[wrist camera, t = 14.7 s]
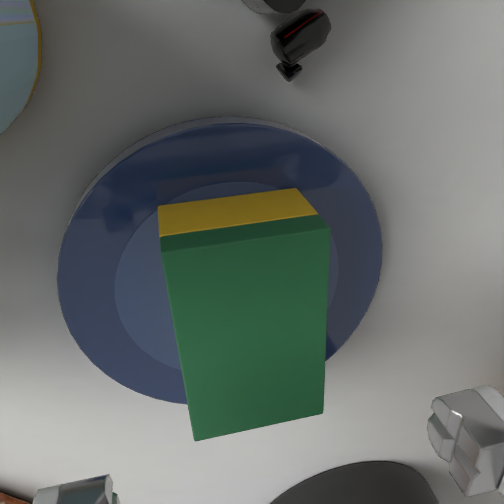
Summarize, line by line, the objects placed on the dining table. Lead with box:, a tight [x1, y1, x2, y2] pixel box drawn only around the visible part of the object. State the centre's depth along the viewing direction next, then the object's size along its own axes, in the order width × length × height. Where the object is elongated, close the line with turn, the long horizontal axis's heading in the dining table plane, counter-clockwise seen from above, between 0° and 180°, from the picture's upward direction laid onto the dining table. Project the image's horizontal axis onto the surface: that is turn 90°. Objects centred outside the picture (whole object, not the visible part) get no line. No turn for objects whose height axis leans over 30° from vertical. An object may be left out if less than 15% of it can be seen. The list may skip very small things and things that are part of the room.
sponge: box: [158, 188, 331, 441], centre depth 16 cm, size 8×5×4 cm, turn 3°
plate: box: [57, 116, 382, 404], centre depth 18 cm, size 13×13×1 cm
